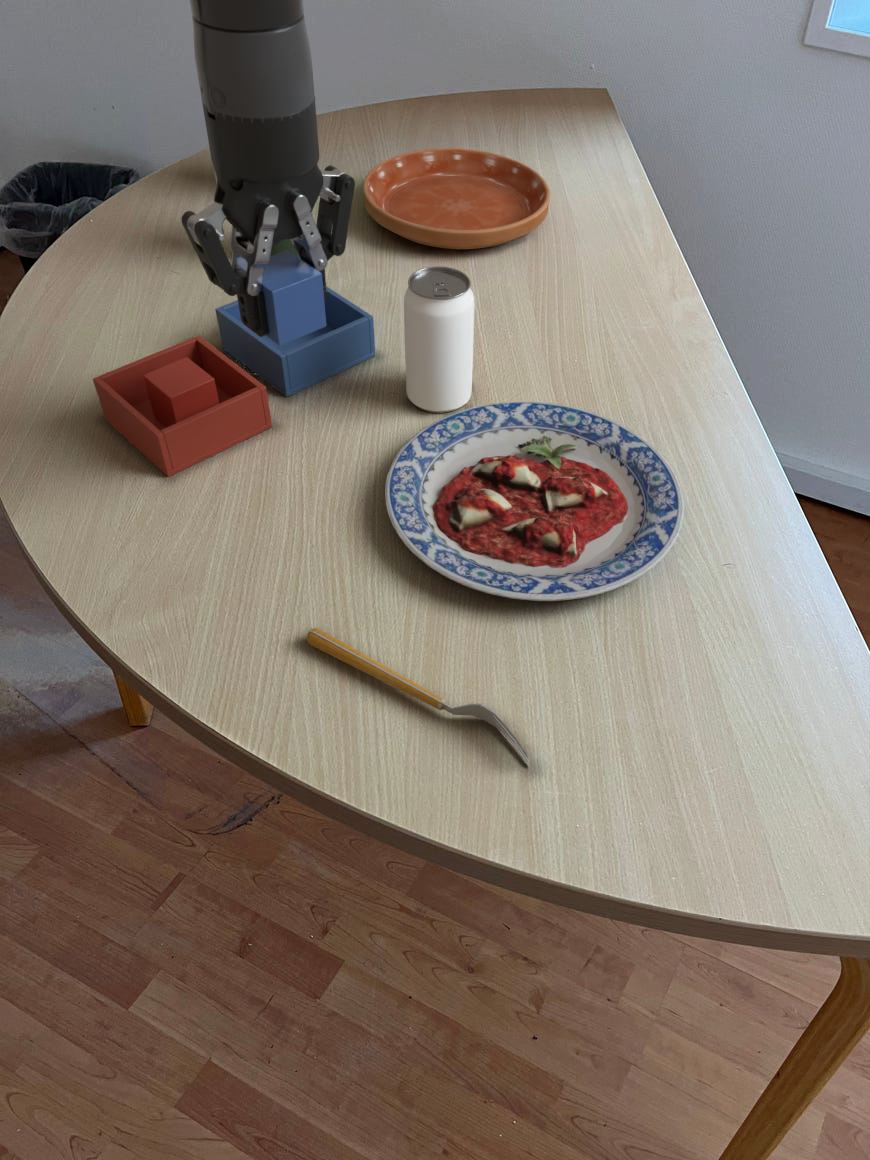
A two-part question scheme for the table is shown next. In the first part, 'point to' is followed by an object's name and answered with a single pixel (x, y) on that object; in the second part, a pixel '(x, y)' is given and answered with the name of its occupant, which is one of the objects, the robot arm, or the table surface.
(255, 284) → the robot arm
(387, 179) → the saucer
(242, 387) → the red bin
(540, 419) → the ceramic plate
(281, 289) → the blue block
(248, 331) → the blue bin
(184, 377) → the red block
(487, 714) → the fork
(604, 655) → the table surface
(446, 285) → the can
